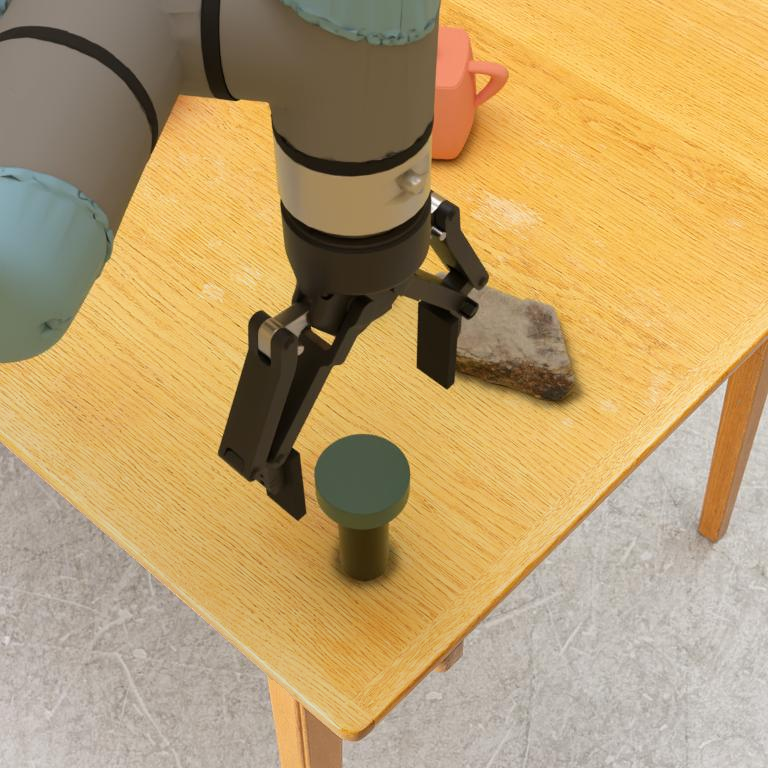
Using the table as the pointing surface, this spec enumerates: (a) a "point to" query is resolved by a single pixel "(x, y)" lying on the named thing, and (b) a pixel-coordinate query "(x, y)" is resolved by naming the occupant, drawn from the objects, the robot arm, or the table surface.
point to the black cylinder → (364, 551)
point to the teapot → (459, 91)
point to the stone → (515, 345)
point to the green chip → (362, 481)
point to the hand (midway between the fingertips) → (364, 437)
